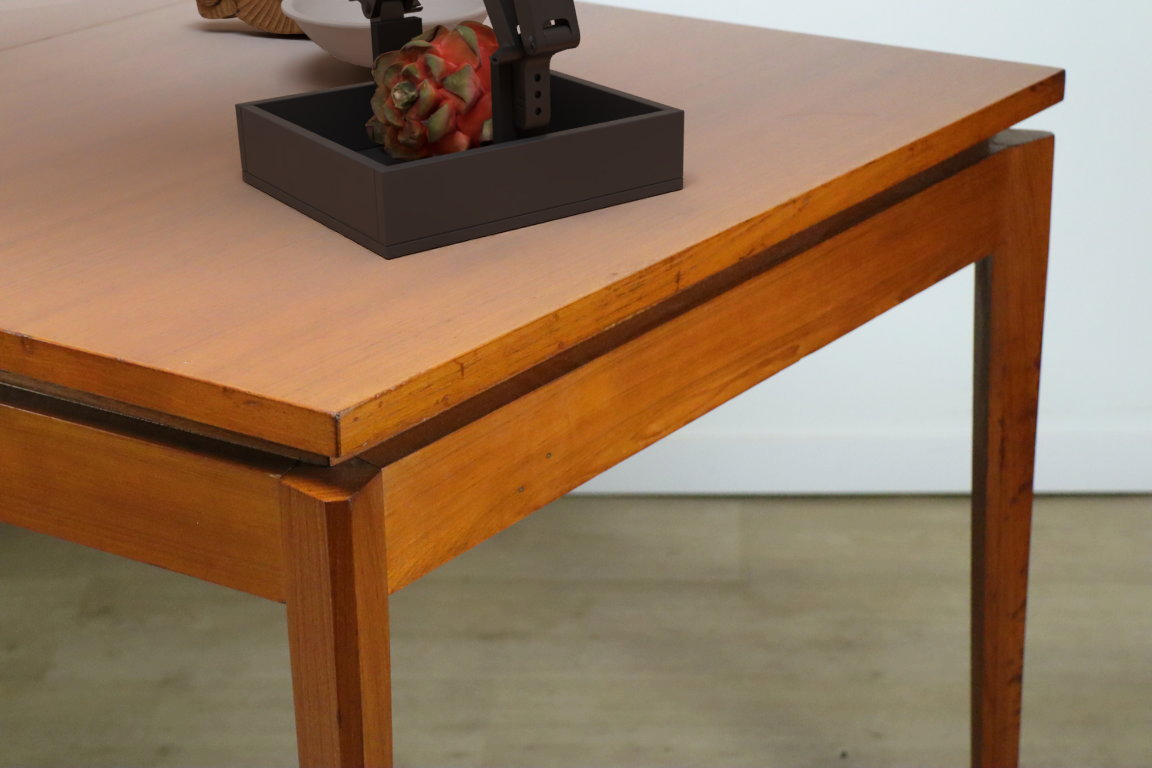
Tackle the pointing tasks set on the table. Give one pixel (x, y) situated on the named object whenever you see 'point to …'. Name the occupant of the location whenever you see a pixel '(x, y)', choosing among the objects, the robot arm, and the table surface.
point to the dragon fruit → (435, 93)
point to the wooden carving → (251, 14)
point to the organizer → (457, 166)
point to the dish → (368, 23)
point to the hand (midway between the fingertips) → (459, 164)
